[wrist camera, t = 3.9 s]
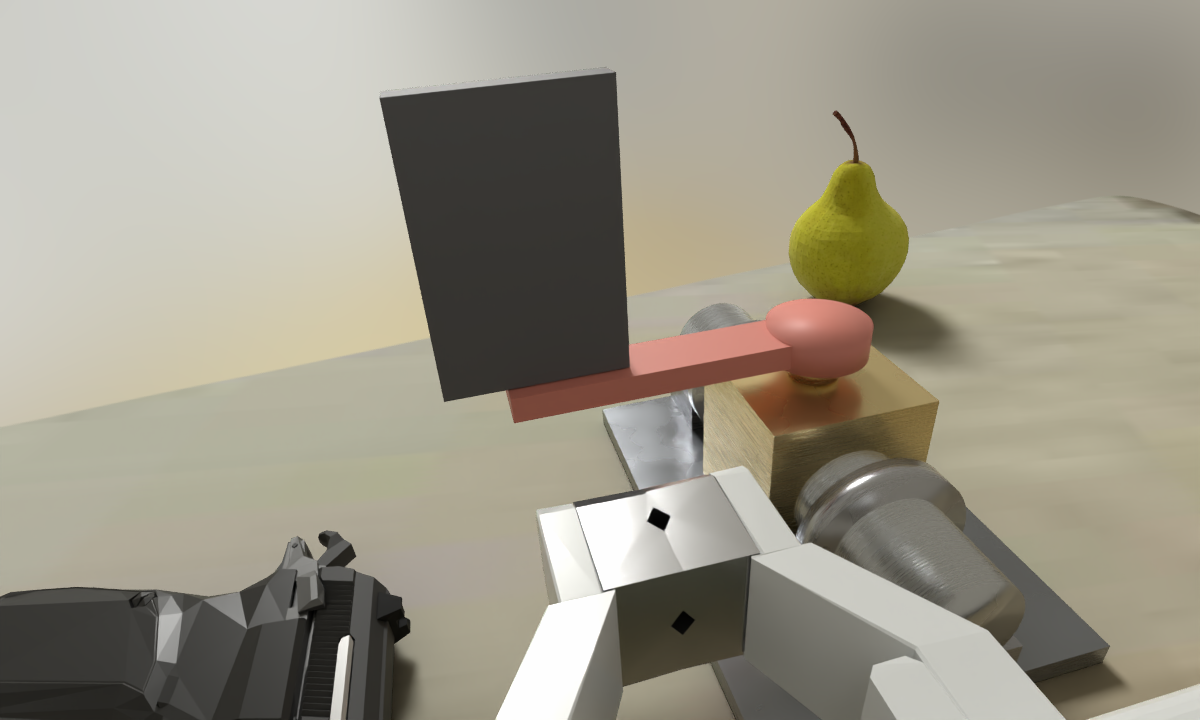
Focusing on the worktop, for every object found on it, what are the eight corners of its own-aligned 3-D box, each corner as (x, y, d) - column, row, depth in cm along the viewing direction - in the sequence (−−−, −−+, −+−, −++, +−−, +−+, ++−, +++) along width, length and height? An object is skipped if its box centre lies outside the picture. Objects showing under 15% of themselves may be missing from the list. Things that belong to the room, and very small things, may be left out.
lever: (834, 320, 27) (869, 32, 22) (889, 367, 24) (946, 44, 19) (446, 392, 24) (380, 83, 19) (452, 455, 21) (378, 107, 16)
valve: (756, 767, 21) (773, 583, 17) (603, 422, 36) (593, 283, 32) (1102, 662, 23) (1189, 478, 19) (819, 379, 38) (834, 244, 34)
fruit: (877, 275, 48) (906, 92, 42) (914, 322, 43) (953, 117, 36) (776, 281, 49) (790, 99, 43) (799, 327, 43) (818, 125, 37)
